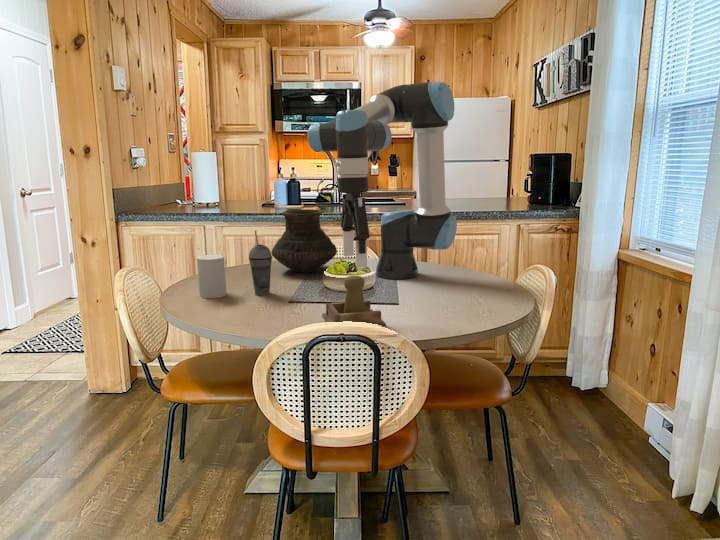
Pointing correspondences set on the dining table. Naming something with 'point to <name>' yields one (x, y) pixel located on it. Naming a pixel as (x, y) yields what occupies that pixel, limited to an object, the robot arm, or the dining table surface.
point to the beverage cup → (260, 268)
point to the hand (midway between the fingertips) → (354, 260)
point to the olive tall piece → (354, 294)
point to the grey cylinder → (211, 276)
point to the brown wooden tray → (352, 314)
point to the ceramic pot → (303, 242)
